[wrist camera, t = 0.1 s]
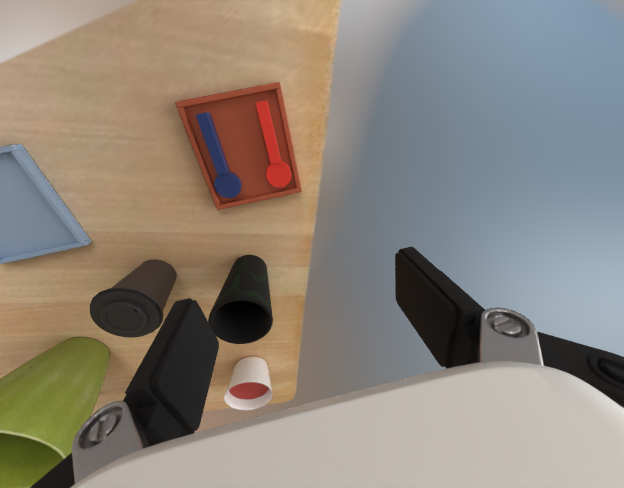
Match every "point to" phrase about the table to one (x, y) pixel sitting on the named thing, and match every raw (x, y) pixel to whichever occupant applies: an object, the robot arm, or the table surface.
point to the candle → (249, 385)
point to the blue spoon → (218, 159)
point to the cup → (243, 303)
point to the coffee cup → (135, 301)
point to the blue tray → (32, 211)
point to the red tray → (242, 141)
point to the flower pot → (47, 408)
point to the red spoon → (272, 149)
